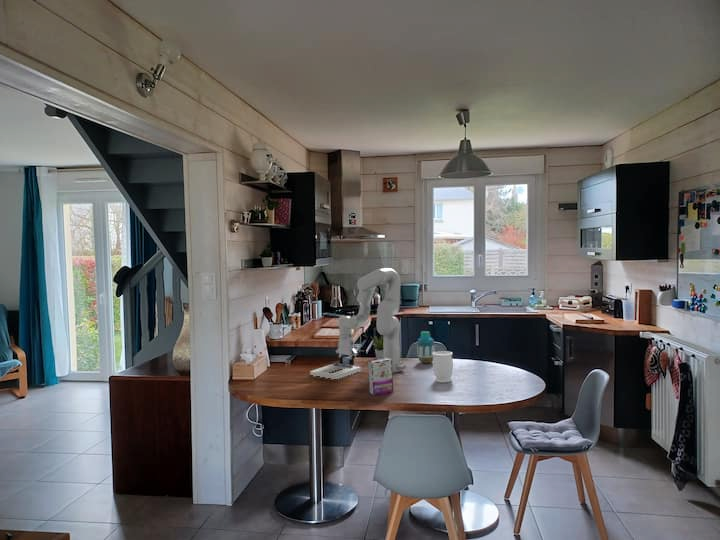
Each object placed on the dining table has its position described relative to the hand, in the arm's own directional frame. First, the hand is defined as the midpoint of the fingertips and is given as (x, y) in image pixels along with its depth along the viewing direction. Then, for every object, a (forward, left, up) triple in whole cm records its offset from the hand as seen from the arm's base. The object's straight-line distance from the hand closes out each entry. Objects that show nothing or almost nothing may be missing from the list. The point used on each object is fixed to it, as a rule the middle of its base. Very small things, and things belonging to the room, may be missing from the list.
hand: (346, 364), depth 305 cm
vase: (-38, -31, -2) cm, 49 cm away
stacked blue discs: (0, 0, -1) cm, 1 cm away
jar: (-67, 0, -2) cm, 67 cm away
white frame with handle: (-5, +16, -1) cm, 17 cm away
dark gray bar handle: (-5, +9, +1) cm, 11 cm away
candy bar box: (-51, +34, -2) cm, 61 cm away
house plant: (-5, -26, -2) cm, 27 cm away
